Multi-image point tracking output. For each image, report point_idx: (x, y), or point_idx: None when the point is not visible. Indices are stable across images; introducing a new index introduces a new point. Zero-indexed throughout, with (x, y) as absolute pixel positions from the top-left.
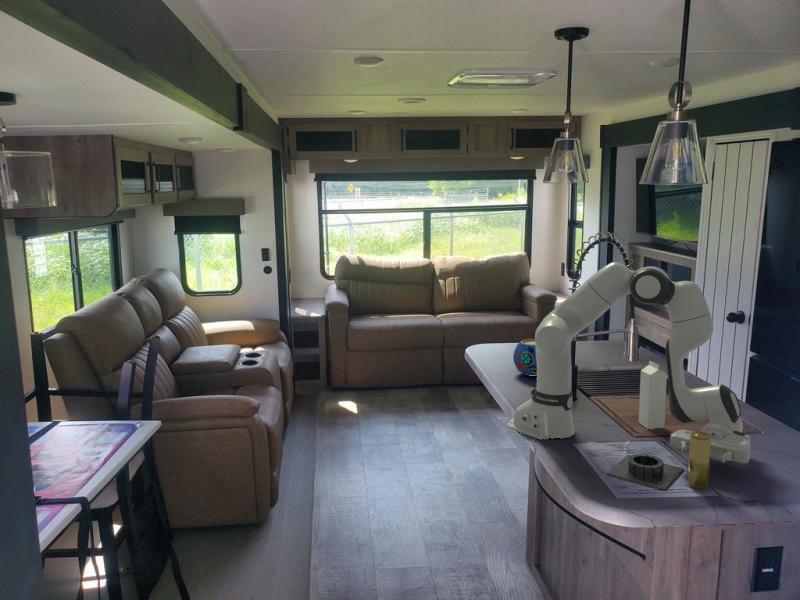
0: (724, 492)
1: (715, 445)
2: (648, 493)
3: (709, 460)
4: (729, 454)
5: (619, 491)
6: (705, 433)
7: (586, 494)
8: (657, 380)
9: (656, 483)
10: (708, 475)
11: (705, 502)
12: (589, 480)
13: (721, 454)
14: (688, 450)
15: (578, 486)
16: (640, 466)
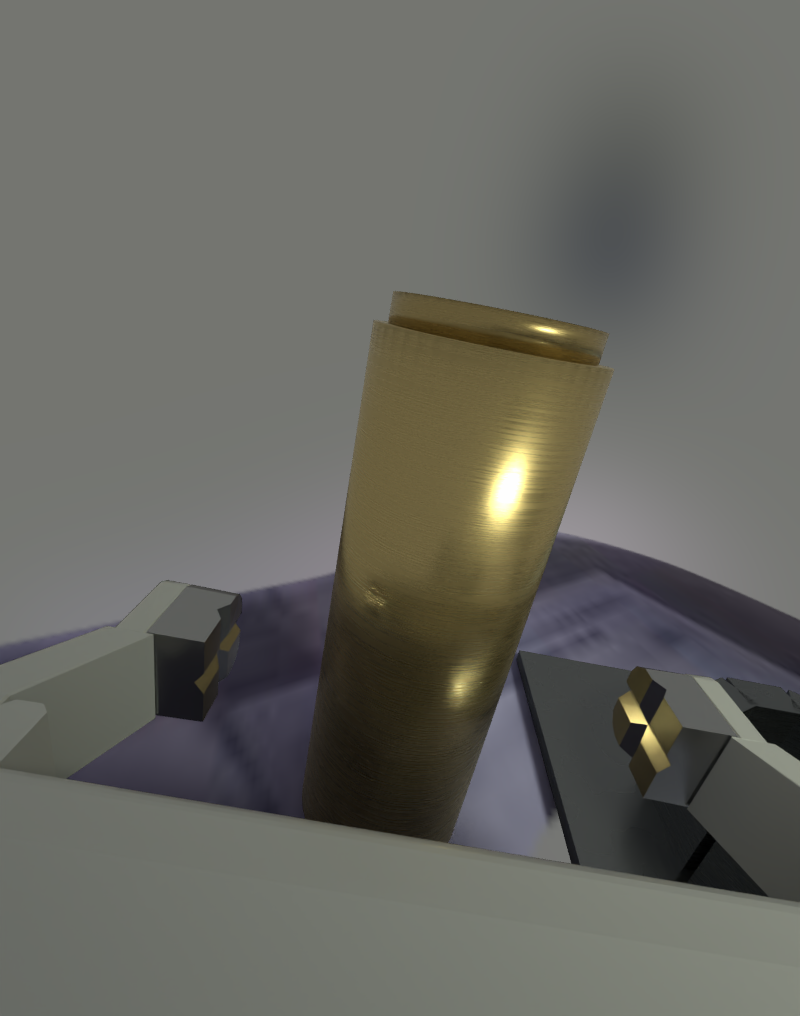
0: (172, 772)
1: (272, 814)
2: (552, 619)
3: (335, 573)
4: (33, 661)
5: (636, 605)
6: (468, 303)
7: (675, 569)
8: None
9: (588, 689)
10: (316, 697)
11: (310, 618)
12: (786, 644)
13: (192, 616)
14: (653, 777)
15: (745, 599)
16: (749, 682)
